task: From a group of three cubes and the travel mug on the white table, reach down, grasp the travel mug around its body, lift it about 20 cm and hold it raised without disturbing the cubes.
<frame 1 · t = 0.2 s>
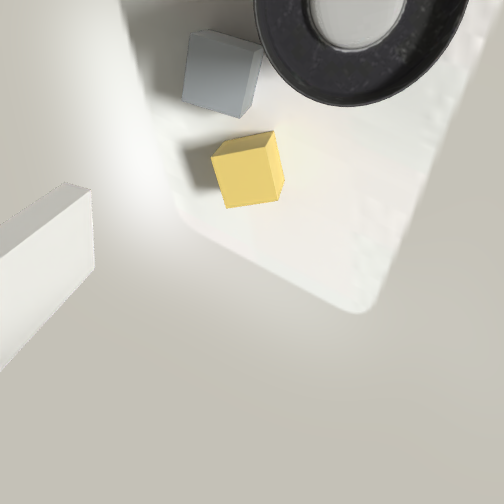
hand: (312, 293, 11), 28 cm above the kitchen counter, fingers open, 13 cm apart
mustard cube: (255, 160, 38), on the kitchen counter
slate grey cube: (231, 68, 34), on the kitchen counter
travel mug: (348, 0, 30), on the kitchen counter
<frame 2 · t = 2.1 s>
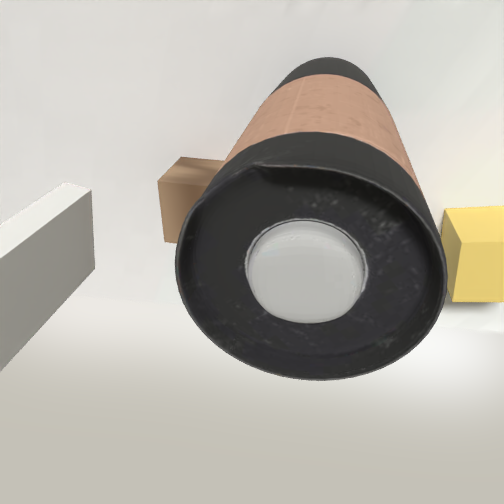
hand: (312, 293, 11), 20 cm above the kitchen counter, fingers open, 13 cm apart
walnut cube: (212, 188, 32), on the kitchen counter
mustard cube: (475, 235, 30), on the kitchen counter
travel mug: (324, 112, 27), on the kitchen counter
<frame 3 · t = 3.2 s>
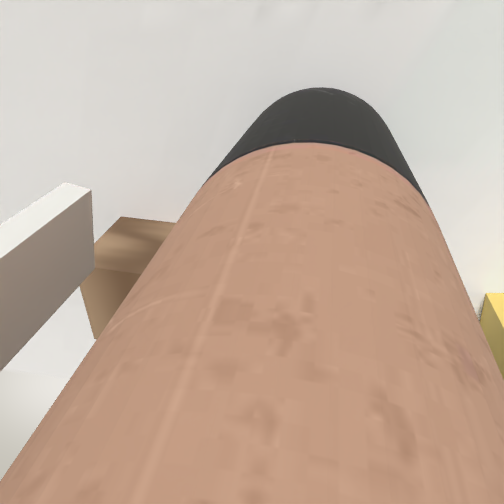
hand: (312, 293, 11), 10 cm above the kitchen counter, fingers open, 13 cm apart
walnut cube: (166, 256, 24), on the kitchen counter
travel mug: (316, 163, 19), on the kitchen counter
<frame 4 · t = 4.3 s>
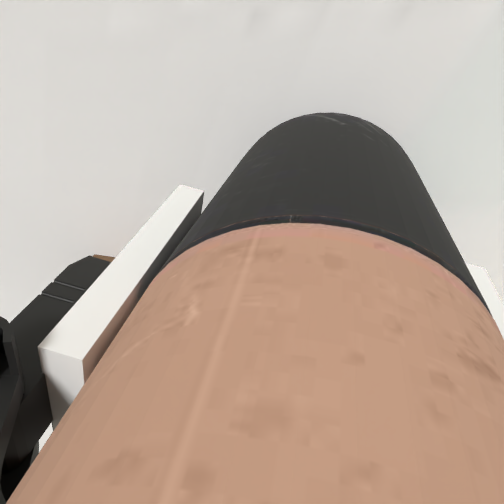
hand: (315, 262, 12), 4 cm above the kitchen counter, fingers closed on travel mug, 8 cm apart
travel mug: (322, 201, 16), on the kitchen counter, touching gripper
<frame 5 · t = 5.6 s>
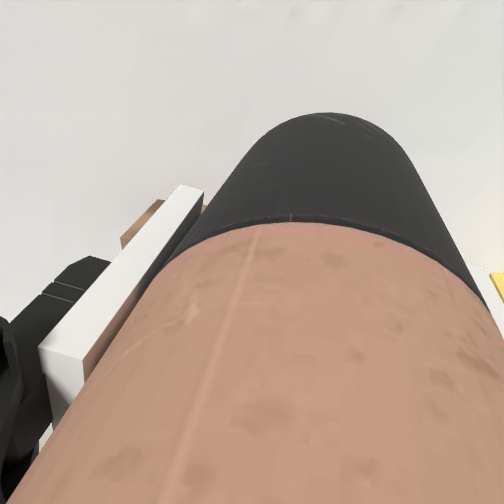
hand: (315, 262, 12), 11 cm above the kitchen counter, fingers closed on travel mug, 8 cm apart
walnut cube: (196, 237, 26), on the kitchen counter
travel mug: (322, 200, 16), point 6 cm above the kitchen counter, touching gripper
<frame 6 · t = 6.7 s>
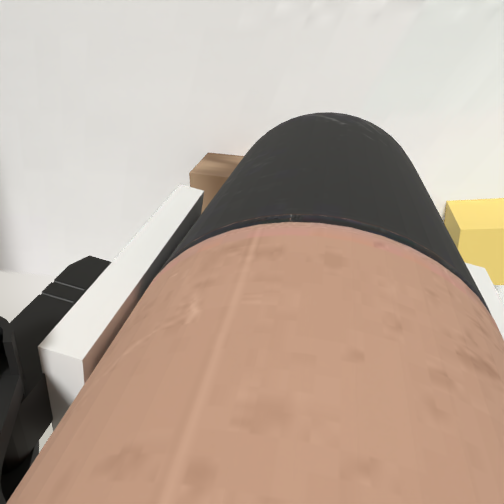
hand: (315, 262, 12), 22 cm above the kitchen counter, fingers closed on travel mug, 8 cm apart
walnut cube: (235, 181, 35), on the kitchen counter
mustard cube: (475, 225, 33), on the kitchen counter
travel mug: (322, 200, 16), point 17 cm above the kitchen counter, touching gripper
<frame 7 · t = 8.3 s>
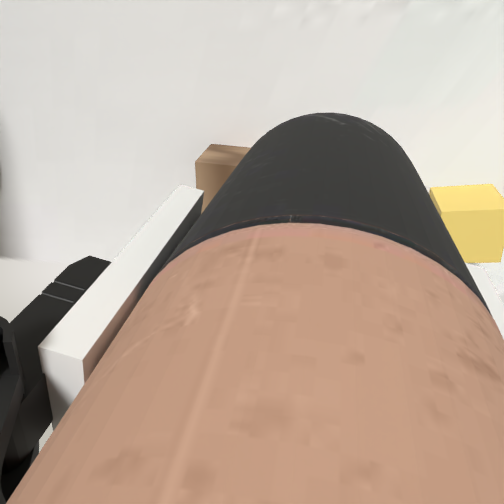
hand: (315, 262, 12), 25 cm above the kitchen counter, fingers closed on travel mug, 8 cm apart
walnut cube: (236, 171, 38), on the kitchen counter
mustard cube: (457, 210, 36), on the kitchen counter
travel mug: (322, 200, 16), point 21 cm above the kitchen counter, touching gripper
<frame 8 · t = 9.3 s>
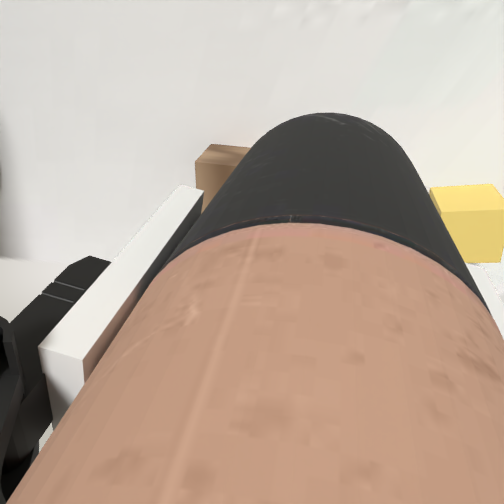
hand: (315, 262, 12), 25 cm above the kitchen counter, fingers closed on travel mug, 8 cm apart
walnut cube: (236, 171, 38), on the kitchen counter
mustard cube: (457, 210, 36), on the kitchen counter
travel mug: (322, 200, 16), point 21 cm above the kitchen counter, touching gripper
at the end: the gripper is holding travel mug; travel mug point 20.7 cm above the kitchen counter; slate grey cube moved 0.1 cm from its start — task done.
